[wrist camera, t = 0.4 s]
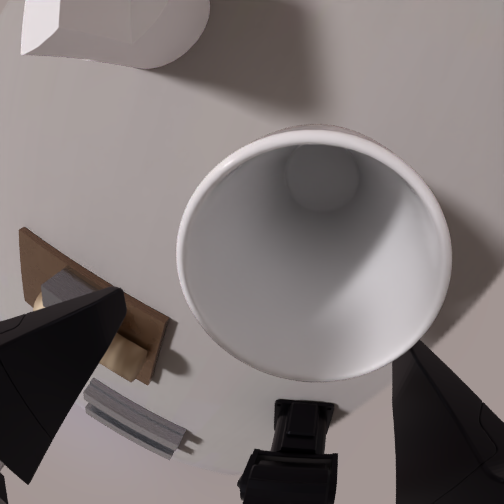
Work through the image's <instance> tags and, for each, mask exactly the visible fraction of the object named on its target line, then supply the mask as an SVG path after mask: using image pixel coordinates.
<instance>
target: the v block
mask: <svg viewBox="0 0 504 504" xmlns="http://www.w3.org/2000/svg"><path fill="white" fill-rule="evenodd" d="M83 393H84V399H85V400H86V401H88V402H89V403H88V404H87V406H86V407H85V408H86V413H87V414H88V415H90V416H91V417H93V418H94V419H96V420H98V421H99V422H101V423H102V424H104V425H105V426H107V427H109V428H110V429H112V430H114V431H115V432H117V433H119V434H120V435H122V436H124V437H126V438H127V439H129V440H131V441H133V442H135V443H136V444H138V445H140V446H142V447H144V448H146V449H148V450H150V451H152V452H154V453H156V454H158V455H160V456H162V457H164V458H166V459H168V460H170V459H171V457H172V455H173V453H174V451H176V449H177V447H178V446H179V444H180V441H181V439H182V437H183V435H184V433H185V431H186V429H184V428H182V427H180V426H178V425H176V424H174V423H171V422H169V421H167V420H165V419H163V418H161V417H160V416H158V415H156V414H154V413H152V412H150V411H148V410H146V409H144V408H143V407H141V406H139V405H137V404H135V403H134V402H132V401H130V400H128V399H127V398H125V397H123V396H122V395H120V394H118V393H117V392H115V391H113V390H112V389H110V388H109V387H107V386H105V385H104V384H102V383H101V382H99V381H98V380H96V379H95V378H93V379H92V380H91V381H90V384H89V385H88V387H87V388H86V389H85V391H84V392H83Z"/></svg>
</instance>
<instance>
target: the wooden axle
mask: <svg viewBox="0 0 504 504" xmlns="http://www.w3.org/2000/svg"><path fill="white" fill-rule="evenodd" d="M42 308H45V307H44V306H43V302H42V292H41V293H40V294H39V295H38V297H37V299H36V301H35V303H34V308H33V311H36V310H39V309H42ZM147 353H148V351H147V350H145V349H143V348H142V347H140V346H138V345H136V344H135V343H133V342H131V341H130V340H128V339H126V338H125V337H123V336H121V335H120V334H118V333H116V335H115V337H114V339H113V341H112V343H111V344H110V346H109V348H108V350H107V351H106V353H105V355H104V356H103V358H102V359H101V361H100V362H99V363H100V364H102V365H103V366H105V367H107V368H108V369H110V370H111V371H113V372H115V373H116V374H118V375H120V376H121V377H123V378H124V379H126V380H128V381H130V382H133V381H134V380H135V378H136V377H137V376H138V374H139V372H140V371H141V369H142V367H143V365H144V362H145V360H146V357H147Z"/></svg>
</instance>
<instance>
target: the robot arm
mask: <svg viewBox="0 0 504 504" xmlns="http://www.w3.org/2000/svg"><path fill="white" fill-rule="evenodd" d="M126 313H127V307H126V302H125V296H124V292H123V290H122V289H121V288H118V287H114V286H110V287H107V288H104V289H101V290H98V291H95V292H92V293H88V294H85V295H82V296H79V297H76V298H73V299H70V300H67V301H63V302H60V303H57V304H54V305H51V306H48V307H45V308H42V309H39V310H36V311H33V312H30V313H27V314H23V315H20V316H17V317H14V318H11V319H8V320H4V321H1V322H0V471H1V469H2V468H3V467H4V465H6V466H7V467H8V468H9V469H10V470H11V471H12V472H13V473H14V474H16V475H17V476H18V477H19V478H20V479H21V480H23V481H24V482H25V483H26V484H27V485H29V483H30V482H31V480H32V478H33V476H34V474H35V472H36V470H37V468H38V466H39V465H40V463H41V461H42V459H43V457H44V455H45V453H46V451H47V450H48V448H49V446H50V444H51V442H52V439H53V438H54V437H55V435H56V433H57V431H58V430H59V427H60V426H61V424H62V423H63V421H64V419H65V417H66V416H67V414H68V412H69V411H70V409H71V407H72V406H73V404H74V402H75V401H76V399H77V397H78V396H79V394H80V392H81V391H82V389H83V388H84V386H85V384H86V383H87V381H88V380H89V378H90V376H91V375H92V373H93V372H94V370H95V369H96V367H97V365H98V364H99V362H100V361H101V359H102V358H103V356H104V355H105V353H106V351H107V350H108V348H109V346H110V344H111V343H112V341H113V339H114V337H115V335H116V333H117V331H118V329H119V327H120V325H121V323H122V322H123V320H124V318H125V316H126ZM392 407H393V419H394V434H395V453H396V504H504V422H502V421H501V420H500V419H499V418H498V417H497V416H496V415H495V414H494V413H493V412H492V411H491V410H490V409H489V408H488V406H487V405H485V403H482V400H481V399H480V398H479V397H478V396H477V395H476V394H475V393H474V392H473V391H472V390H471V389H470V388H469V387H468V386H467V385H466V384H465V383H464V382H463V381H462V380H461V379H460V378H459V377H458V376H457V375H456V374H455V373H454V372H453V371H452V370H451V369H450V368H449V367H448V366H447V365H446V364H445V363H443V361H441V360H440V359H439V358H438V357H437V356H436V355H435V354H434V353H433V352H432V351H431V350H430V349H429V348H428V347H427V346H426V345H425V344H424V343H423V342H422V341H420V340H419V341H418V342H417V343H416V344H415V345H414V346H413V347H411V348H410V349H409V350H408V351H407V352H406V353H404V354H403V355H401V356H400V357H399V358H397V359H396V360H394V361H393V362H392ZM333 410H334V405H333V404H329V403H312V402H299V401H288V400H276V401H275V416H274V430H275V434H274V438H273V443H272V447H271V451H263V450H260V449H254V451H253V454H251V455H250V458H249V461H248V463H247V466H246V468H245V470H244V473H243V474H242V476H241V477H240V479H239V480H238V483H237V486H238V487H239V488H240V497H241V500H243V504H334V500H335V494H336V484H337V467H338V454H337V453H333V454H324V450H325V439H326V434H327V432H328V428H329V425H330V421H331V418H332V414H333ZM0 504H8V500H7V493H6V487H5V479H4V476H3V475H2V474H1V473H0Z"/></svg>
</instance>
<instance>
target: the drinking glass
mask: <svg viewBox="0 0 504 504" xmlns="http://www.w3.org/2000/svg"><path fill="white" fill-rule="evenodd" d="M176 262H177V271H178V276H179V281H180V285H181V288H182V291H183V294H184V297H185V299H186V301H187V304H188V306H189V307H190V309H191V311H192V313H193V315H194V316H195V318H196V319H197V321H198V322H199V324H200V325H201V326H202V328H203V329H204V330H205V331H206V333H207V334H208V335H209V336H210V337H211V338H212V339H213V340H214V341H215V342H216V343H217V344H218V345H219V346H220V347H222V348H223V349H224V350H225V351H227V352H228V353H229V354H231V355H232V356H234V357H235V358H236V359H238V360H240V361H241V362H243V363H245V364H247V365H249V366H251V367H253V368H255V369H257V370H259V371H262V372H264V373H267V374H270V375H273V376H277V377H280V378H285V379H289V380H295V381H303V382H332V381H340V380H346V379H350V378H355V377H358V376H362V375H365V374H368V373H370V372H373V371H375V370H378V369H380V368H382V367H384V366H386V365H388V364H389V363H391V362H393V361H394V360H396V359H397V358H399V357H400V356H401V355H403V354H404V353H406V352H407V351H408V350H409V349H410V348H411V347H413V346H414V345H415V344H416V343H417V342H418V341H419V340H420V339H421V338H422V336H423V335H424V334H425V333H426V331H427V330H428V329H429V328H430V326H431V325H432V323H433V322H434V320H435V319H436V317H437V315H438V313H439V311H440V309H441V307H442V305H443V302H444V300H445V297H446V294H447V291H448V287H449V283H450V278H451V271H452V245H451V239H450V233H449V229H448V226H447V222H446V219H445V216H444V214H443V211H442V209H441V207H440V205H439V203H438V201H437V199H436V197H435V196H434V194H433V192H432V191H431V189H430V188H429V187H428V185H427V184H426V183H425V181H424V180H423V179H422V178H421V177H420V176H419V175H418V173H417V172H416V171H415V170H414V169H413V168H412V167H411V166H409V165H408V164H407V163H406V162H405V161H403V160H402V159H401V158H400V157H398V156H397V155H395V154H394V153H393V152H392V151H390V150H389V149H388V148H386V147H385V146H383V145H382V144H380V143H378V142H377V141H375V140H373V139H372V138H370V137H368V136H365V135H363V134H361V133H359V132H356V131H353V130H350V129H348V128H344V127H339V126H335V125H327V124H305V125H297V126H292V127H288V128H284V129H281V130H278V131H275V132H272V133H269V134H267V135H265V136H263V137H261V138H258V139H256V140H254V141H253V142H251V143H249V144H247V145H245V146H243V147H242V148H240V149H238V150H237V151H235V152H233V153H232V154H230V155H229V156H228V157H226V158H225V159H224V160H222V161H221V162H220V163H219V164H217V165H216V166H215V167H214V168H213V169H212V170H211V171H210V172H209V173H208V174H207V175H206V177H205V178H204V179H203V180H202V182H201V183H200V184H199V185H198V187H197V188H196V190H195V192H194V193H193V195H192V196H191V198H190V200H189V202H188V204H187V206H186V208H185V211H184V214H183V216H182V219H181V222H180V227H179V231H178V236H177V244H176Z"/></svg>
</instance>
